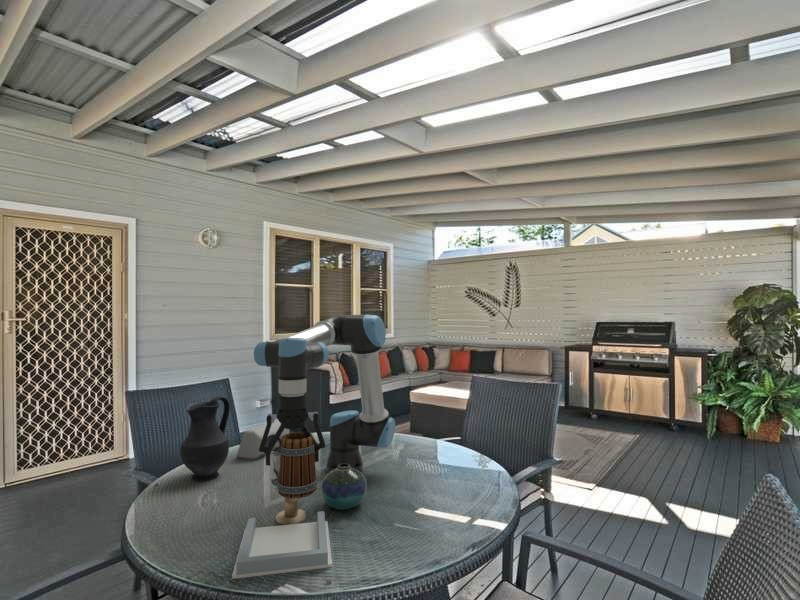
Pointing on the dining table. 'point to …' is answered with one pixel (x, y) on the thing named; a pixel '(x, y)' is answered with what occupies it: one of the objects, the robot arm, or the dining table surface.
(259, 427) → the tank
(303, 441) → the mug
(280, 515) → the bobbin
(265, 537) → the grey square tray
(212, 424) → the pitcher
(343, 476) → the vase
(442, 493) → the dining table surface
